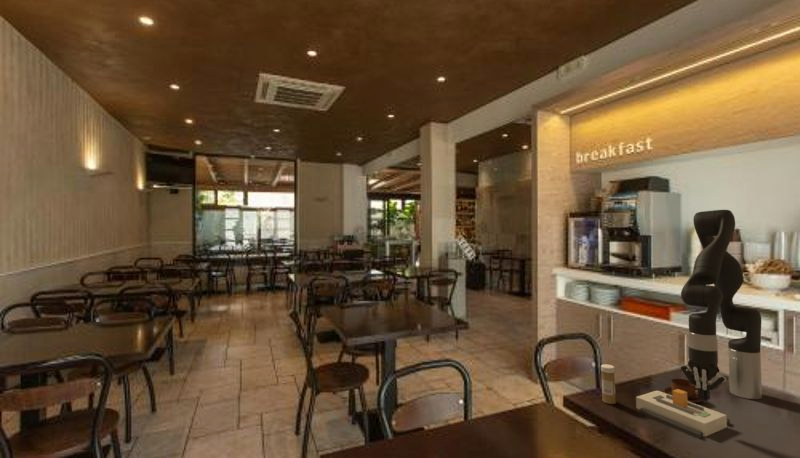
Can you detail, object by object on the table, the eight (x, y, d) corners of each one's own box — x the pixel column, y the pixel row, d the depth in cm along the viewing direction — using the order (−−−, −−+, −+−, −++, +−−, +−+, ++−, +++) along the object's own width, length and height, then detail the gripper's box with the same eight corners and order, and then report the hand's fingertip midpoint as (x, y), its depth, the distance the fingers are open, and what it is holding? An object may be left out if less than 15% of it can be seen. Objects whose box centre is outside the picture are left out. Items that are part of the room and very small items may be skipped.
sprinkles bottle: (618, 402, 146) (617, 366, 146) (611, 405, 143) (610, 368, 143) (606, 398, 149) (604, 362, 149) (599, 401, 147) (598, 365, 147)
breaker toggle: (678, 402, 135) (677, 388, 135) (687, 405, 132) (687, 392, 132) (672, 404, 133) (672, 390, 133) (682, 407, 131) (681, 393, 131)
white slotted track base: (669, 400, 145) (669, 397, 145) (733, 424, 127) (733, 420, 127) (636, 412, 138) (636, 408, 138) (699, 438, 119) (699, 435, 119)
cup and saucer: (701, 395, 149) (701, 379, 149) (705, 408, 139) (705, 391, 139) (663, 389, 156) (663, 374, 156) (665, 401, 146) (664, 384, 146)
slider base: (657, 400, 146) (657, 387, 146) (726, 427, 126) (726, 411, 126) (636, 407, 141) (636, 394, 141) (705, 436, 121) (704, 420, 121)
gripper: (733, 350, 122) (734, 406, 121) (687, 340, 134) (688, 390, 133) (719, 353, 118) (721, 411, 118) (673, 343, 130) (675, 394, 130)
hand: (703, 400), depth 126 cm, fingers closed
